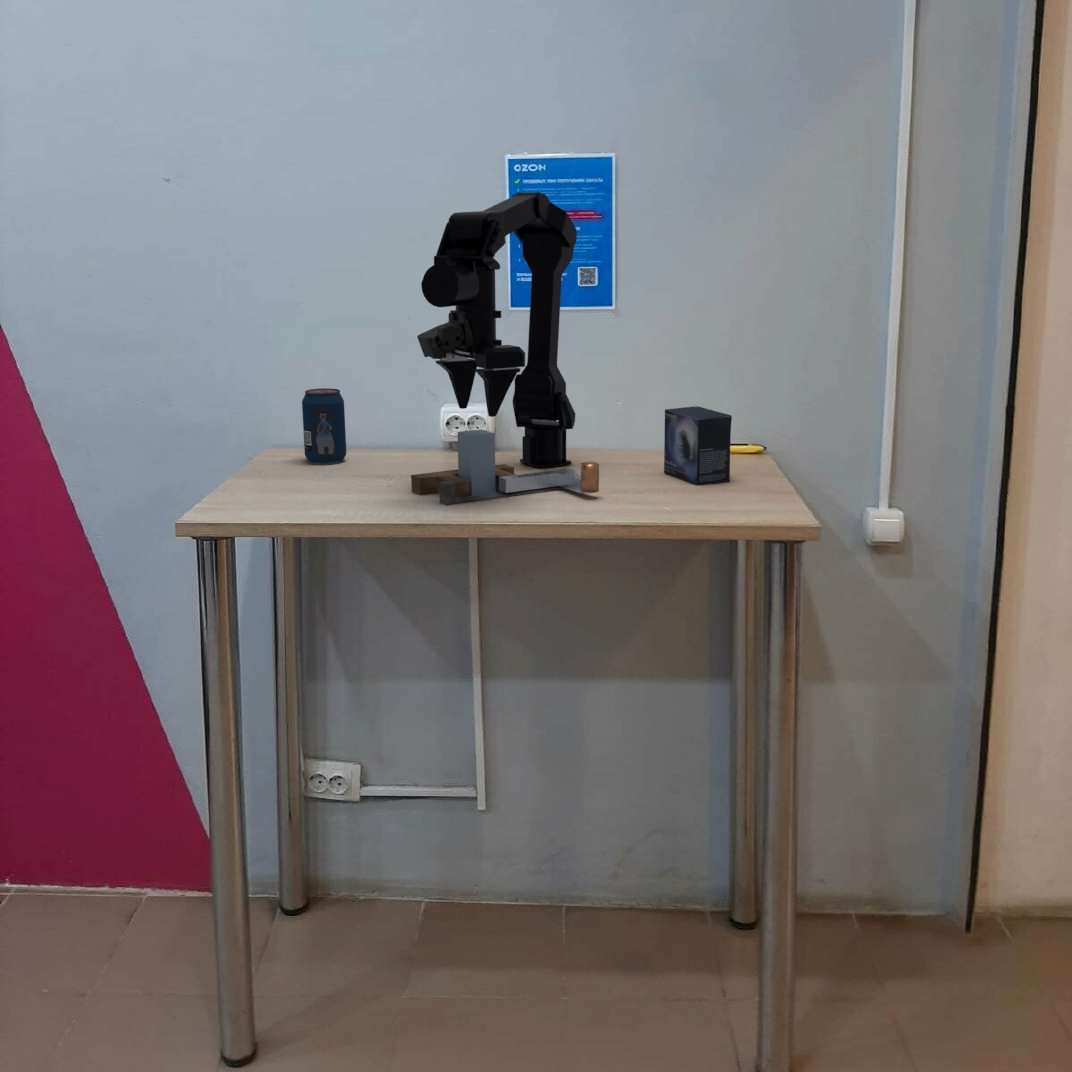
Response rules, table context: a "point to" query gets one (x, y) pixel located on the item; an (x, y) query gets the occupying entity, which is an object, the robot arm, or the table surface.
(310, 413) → the soda can
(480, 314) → the robot arm
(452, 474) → the mount
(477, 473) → the slate blue cuboid
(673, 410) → the small box
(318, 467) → the table surface
